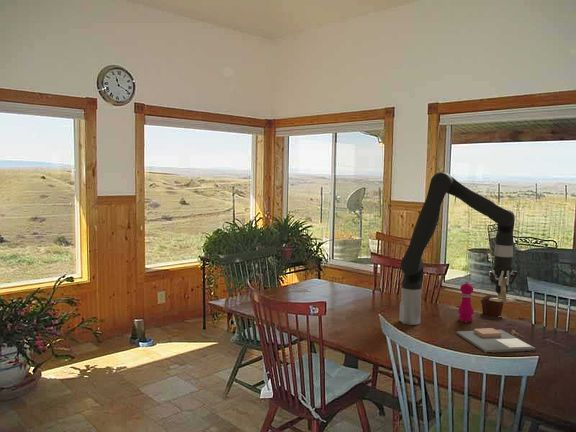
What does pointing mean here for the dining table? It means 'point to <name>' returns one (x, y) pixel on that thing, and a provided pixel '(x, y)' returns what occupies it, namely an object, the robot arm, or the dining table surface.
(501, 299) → the square plate with post
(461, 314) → the pepper mill
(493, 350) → the mat
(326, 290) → the dining table surface
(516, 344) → the plate
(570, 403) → the dining table surface
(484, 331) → the tile
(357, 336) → the dining table surface
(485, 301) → the muffin
